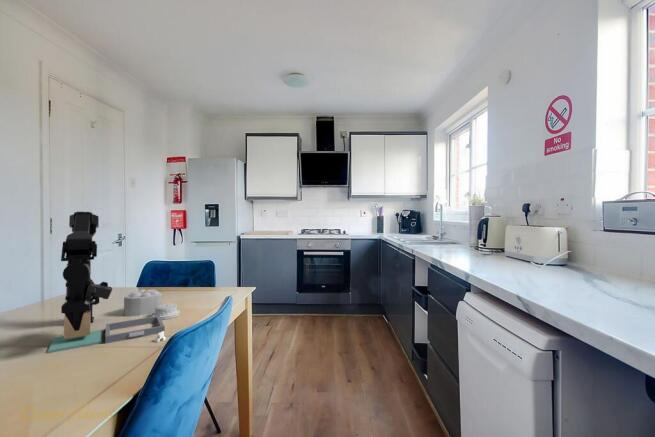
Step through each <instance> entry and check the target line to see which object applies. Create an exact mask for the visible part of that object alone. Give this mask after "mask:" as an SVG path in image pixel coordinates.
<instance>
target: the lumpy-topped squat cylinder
mask: <svg viewBox="0 0 655 437" xmlns="http://www.w3.org/2000/svg"><path fill="white" fill-rule="evenodd" d="M123 299H124V300H123V316H125V317H141V316H140V315H142V316H147V314H148V315H152V314H153V313H154V312H155V307H156V306H158V305H160V304H163V293H162V292H160V291H158V290H157V289H154V288H153V289H152V288H151V289H148V290H146V289H139V290H137V291H132V292H130V293H129V294H128V295H125V296H124V297H123Z"/></svg>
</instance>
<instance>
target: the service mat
mask: <svg viewBox="0 0 655 437" xmlns="http://www.w3.org/2000/svg"><path fill="white" fill-rule="evenodd" d="M102 336H103V329H98V330H90V335H86V336H80V337H74V338H69V339H64V335H62V336H55V337H53V339H52V341H51V344H50V346H49V348H48V350H47V353H48V354H50V353H54V352H55V353H56V352H60V351H61V352H62V351H65V350H66V351H67V350H72V349H76V348H81V347H87V346H92V345H98V344H102V339H103V337H102Z"/></svg>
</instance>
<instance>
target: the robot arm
mask: <svg viewBox="0 0 655 437" xmlns="http://www.w3.org/2000/svg"><path fill="white" fill-rule="evenodd" d="M73 213H74V214H71V215H69V219H68V226H69V228H70V229H71V232H72V233H69V234H67V236H66V239H65V241H63V242H62V248H61V256H60V262H67V263H66V266H65V267H64V269H63V272H62V277H63V279H64V280H65V287H66V288H65V290H66V293H65V299H64V301H65V302H64V303H62V305H61V307H60V308H61V309H60V312H61V314H64V316H65V315H66V317H67V318H68V320H69V322H70V323H71V325H72V327H73V329H74V330H75V331H78V330H80V326H81V322H82V318H83V314H84V313H85V312H86V311H87V310H89V309H91V323H94V319H95V316H93V309H94V308H93V307H94V306H96V305H99V304H100V299H101V298H102V299H103V300H109V298H110V296H111V294H112V291H113V287H111V286H109V284H108V282H106V281H101V282H100V283H99V284H98V283H95V282H94V281H93V279H92V278H91V273H92V272H91V269H92V268H91V265H92V264H91V263H92V261H94V260H95V258H97V256H98V244H97V243H96V242H97V241H95V240H93V237H94V236H95V235H96V234H97V229H98V228H99V226H100V225H99V222H100V219H99V218H100V217H99V215H97V214H94V213H93V212H91V211H76V212H75V211H74V212H73Z"/></svg>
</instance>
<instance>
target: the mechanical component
mask: <svg viewBox="0 0 655 437" xmlns="http://www.w3.org/2000/svg"><path fill="white" fill-rule="evenodd" d="M180 315H181V311H180V310H179V309H178V306H177V303H171V302H170V303H169V302H168V303H162V304H160V305H158V306H156V307H155V312H154V313H153V314H151V316H150V317H154V316H160V318H161V320H162V321H163V320H170V319H173V318H177V317H179V316H180Z"/></svg>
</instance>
